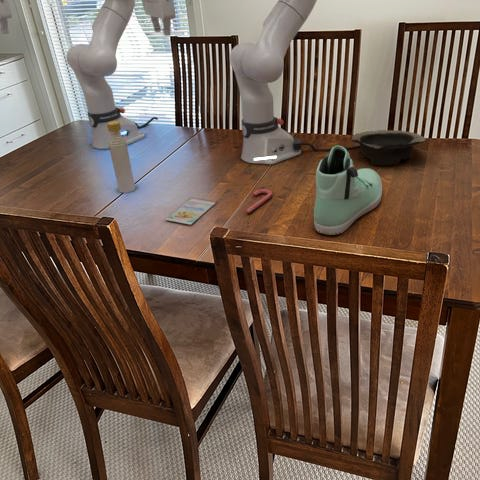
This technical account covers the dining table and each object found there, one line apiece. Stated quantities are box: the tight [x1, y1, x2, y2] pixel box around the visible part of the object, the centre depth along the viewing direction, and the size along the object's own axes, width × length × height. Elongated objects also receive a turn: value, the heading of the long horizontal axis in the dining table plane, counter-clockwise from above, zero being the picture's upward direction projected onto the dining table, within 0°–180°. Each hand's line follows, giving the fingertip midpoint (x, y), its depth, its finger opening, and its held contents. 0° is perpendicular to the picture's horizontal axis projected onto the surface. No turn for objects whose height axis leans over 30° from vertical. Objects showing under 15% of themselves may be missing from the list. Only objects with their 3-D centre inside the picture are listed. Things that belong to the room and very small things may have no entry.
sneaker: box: [313, 145, 383, 236], centre depth 133 cm, size 14×35×20 cm, turn 152°
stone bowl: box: [351, 129, 427, 166], centre depth 167 cm, size 25×25×9 cm
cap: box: [107, 121, 121, 132], centre depth 150 cm, size 4×4×2 cm
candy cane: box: [245, 188, 273, 215], centre depth 146 cm, size 6×15×2 cm, turn 145°
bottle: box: [109, 131, 136, 194], centre depth 156 cm, size 6×6×22 cm
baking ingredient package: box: [164, 198, 216, 226], centre depth 144 cm, size 9×1×15 cm
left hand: (0, 32), depth 160 cm, fingers open, 8 cm apart
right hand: (162, 33), depth 143 cm, fingers open, 8 cm apart
